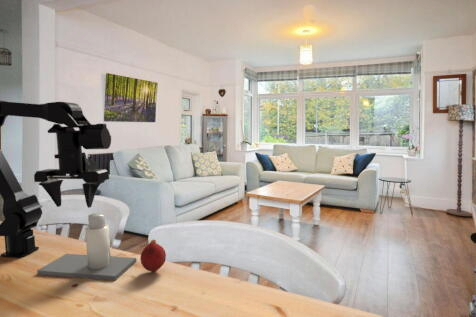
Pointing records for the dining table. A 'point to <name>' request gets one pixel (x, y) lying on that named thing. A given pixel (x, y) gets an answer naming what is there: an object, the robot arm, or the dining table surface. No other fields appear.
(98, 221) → the white bottle
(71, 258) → the slate board
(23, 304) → the dining table surface
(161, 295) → the dining table surface
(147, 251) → the onion
